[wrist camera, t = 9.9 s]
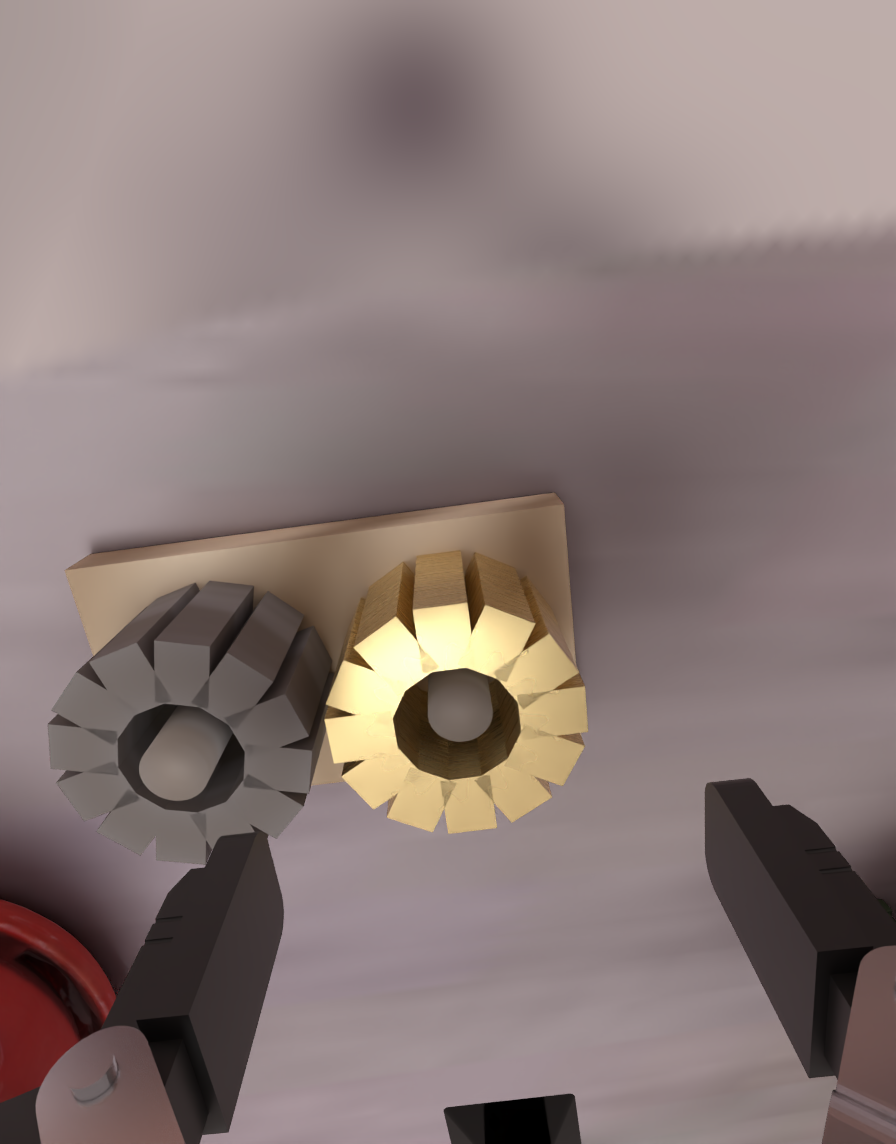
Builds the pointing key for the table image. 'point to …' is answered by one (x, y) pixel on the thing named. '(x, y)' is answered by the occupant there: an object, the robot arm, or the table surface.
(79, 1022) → the plant pot
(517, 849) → the table surface
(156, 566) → the gear board
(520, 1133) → the black flared hood
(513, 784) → the brass gear
